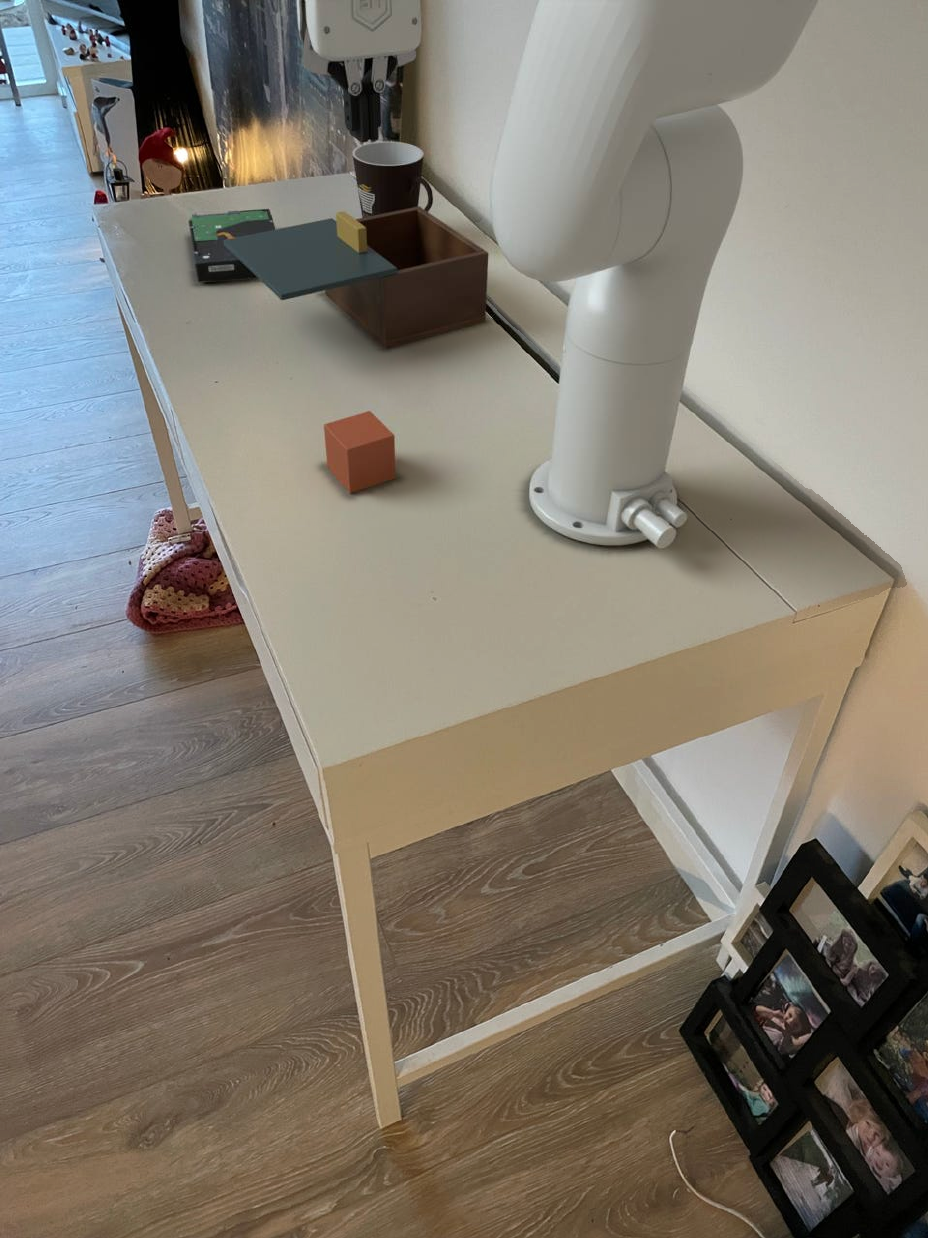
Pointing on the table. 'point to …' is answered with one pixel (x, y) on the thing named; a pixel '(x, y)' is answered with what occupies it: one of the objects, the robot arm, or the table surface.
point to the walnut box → (417, 280)
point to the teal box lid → (311, 256)
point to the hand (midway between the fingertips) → (363, 136)
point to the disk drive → (209, 242)
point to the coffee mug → (389, 177)
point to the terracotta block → (360, 451)
